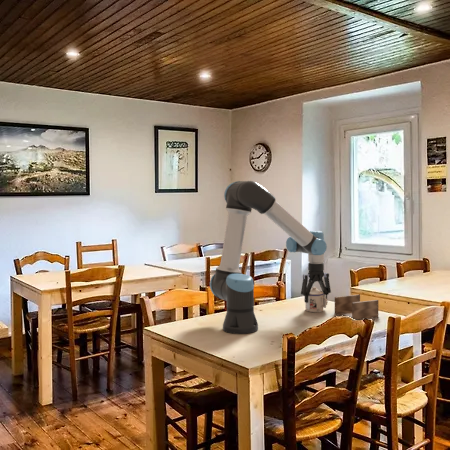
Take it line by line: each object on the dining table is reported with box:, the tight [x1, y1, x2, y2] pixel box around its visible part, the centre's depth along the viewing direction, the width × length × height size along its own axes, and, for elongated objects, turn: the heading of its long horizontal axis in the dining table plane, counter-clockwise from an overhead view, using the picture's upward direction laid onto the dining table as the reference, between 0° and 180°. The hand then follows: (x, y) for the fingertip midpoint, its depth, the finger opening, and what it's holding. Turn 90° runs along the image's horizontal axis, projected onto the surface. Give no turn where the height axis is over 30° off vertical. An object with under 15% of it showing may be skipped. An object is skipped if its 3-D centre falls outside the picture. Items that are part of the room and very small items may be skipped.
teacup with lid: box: [305, 286, 329, 313], centre depth 264 cm, size 12×9×12 cm
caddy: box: [334, 294, 379, 320], centre depth 254 cm, size 14×15×8 cm
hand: (315, 308), depth 265 cm, fingers closed on teacup with lid, 8 cm apart
